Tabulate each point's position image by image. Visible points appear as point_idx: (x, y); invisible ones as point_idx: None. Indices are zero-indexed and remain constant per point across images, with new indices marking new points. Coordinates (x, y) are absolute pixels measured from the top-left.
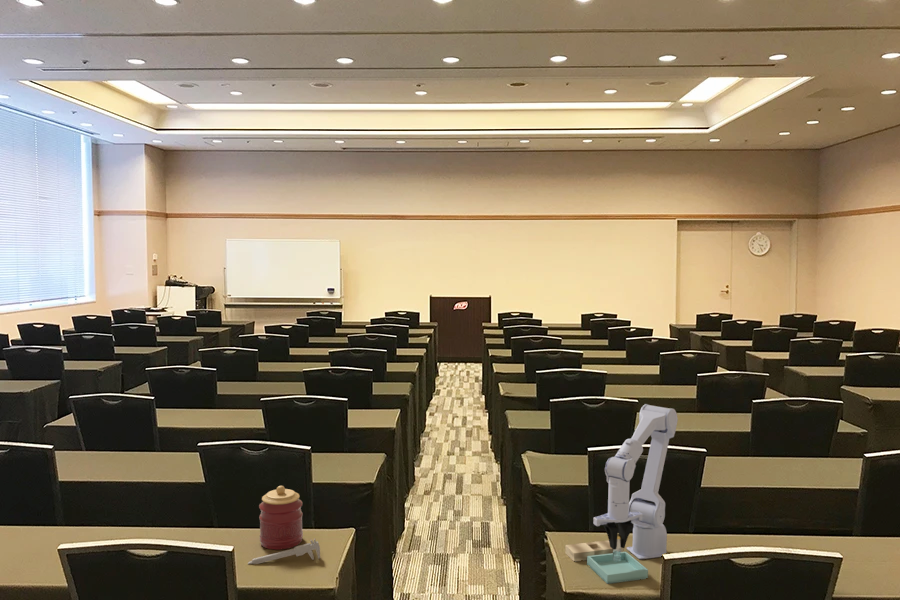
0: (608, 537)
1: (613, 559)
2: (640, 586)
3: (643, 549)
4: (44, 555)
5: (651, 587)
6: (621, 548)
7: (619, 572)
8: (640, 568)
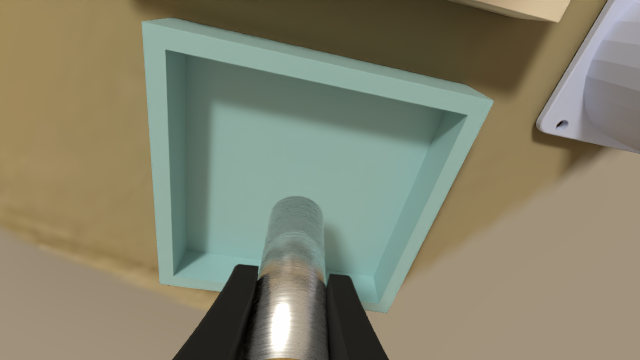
0: (190, 342)
1: (269, 219)
2: None
3: (625, 133)
4: None
5: None
6: (533, 17)
7: None
8: (388, 265)
